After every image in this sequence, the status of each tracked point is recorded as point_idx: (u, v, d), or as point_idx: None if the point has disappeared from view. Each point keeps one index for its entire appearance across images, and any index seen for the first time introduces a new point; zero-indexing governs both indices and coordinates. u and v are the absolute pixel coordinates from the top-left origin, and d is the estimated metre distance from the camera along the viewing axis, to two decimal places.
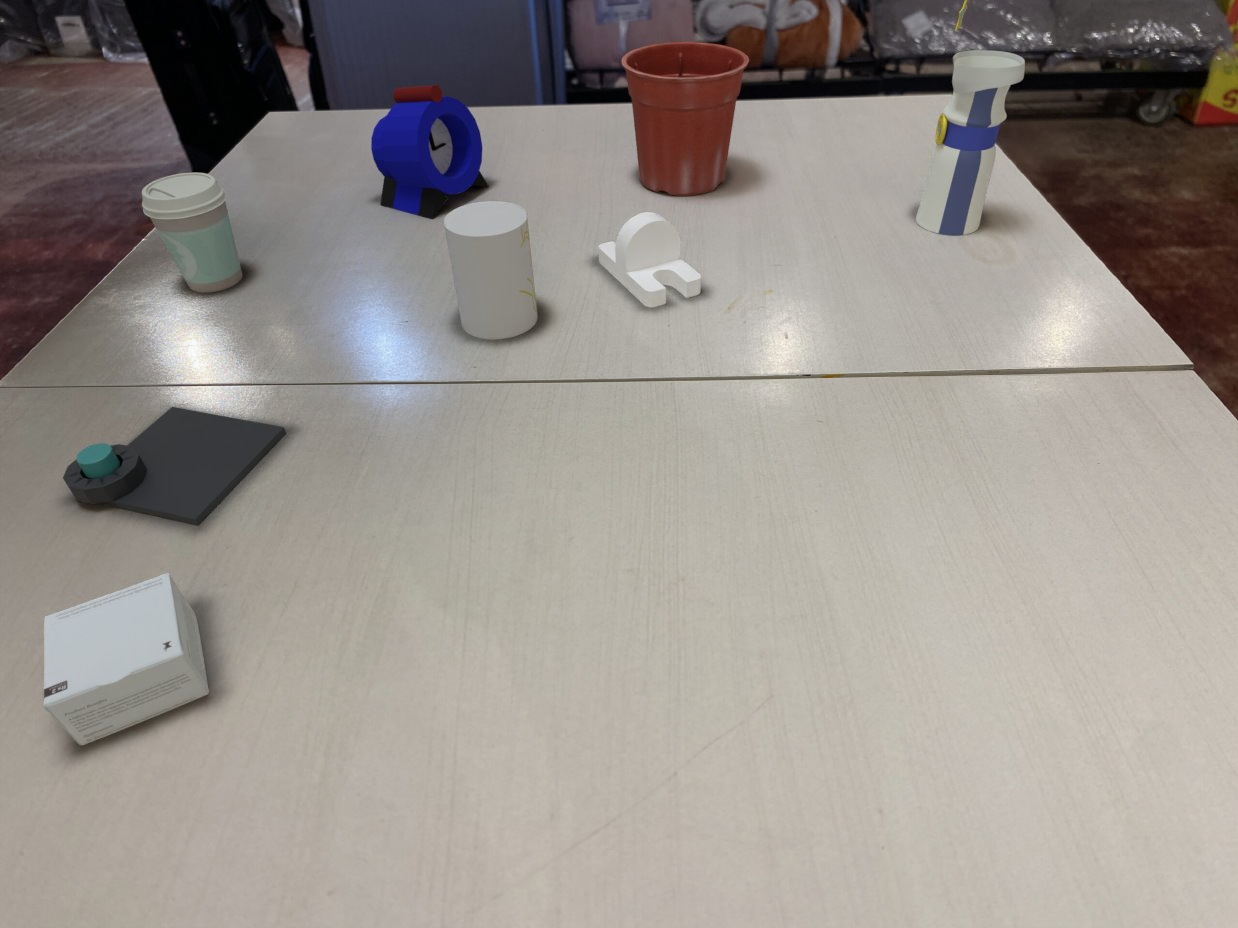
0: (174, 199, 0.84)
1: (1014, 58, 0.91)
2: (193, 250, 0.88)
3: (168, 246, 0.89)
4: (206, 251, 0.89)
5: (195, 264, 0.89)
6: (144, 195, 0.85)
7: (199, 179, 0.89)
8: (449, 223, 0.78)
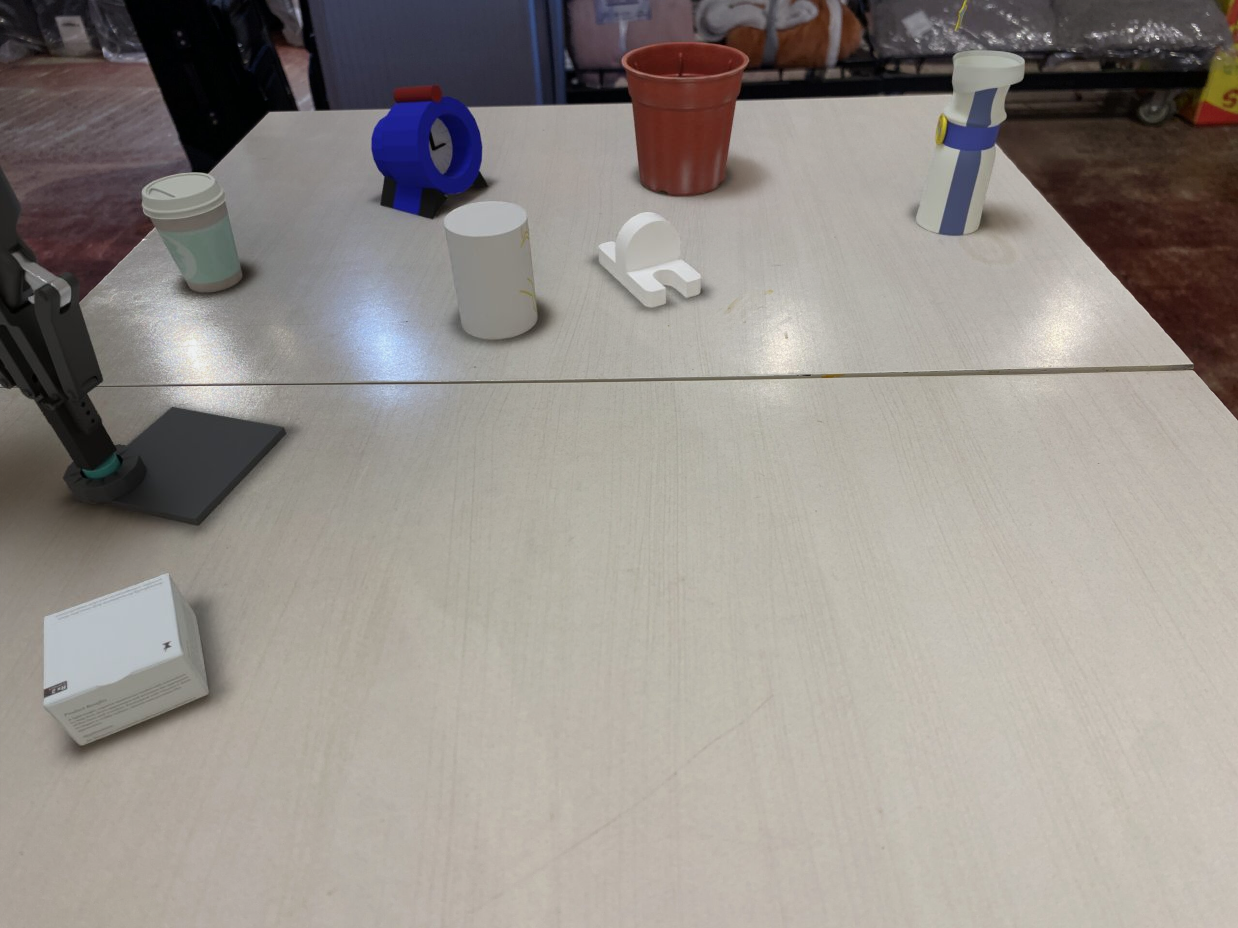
0: (174, 199, 0.84)
1: (1014, 58, 0.91)
2: (193, 250, 0.88)
3: (168, 246, 0.89)
4: (206, 251, 0.89)
5: (195, 264, 0.89)
6: (144, 195, 0.85)
7: (199, 179, 0.89)
8: (449, 223, 0.78)
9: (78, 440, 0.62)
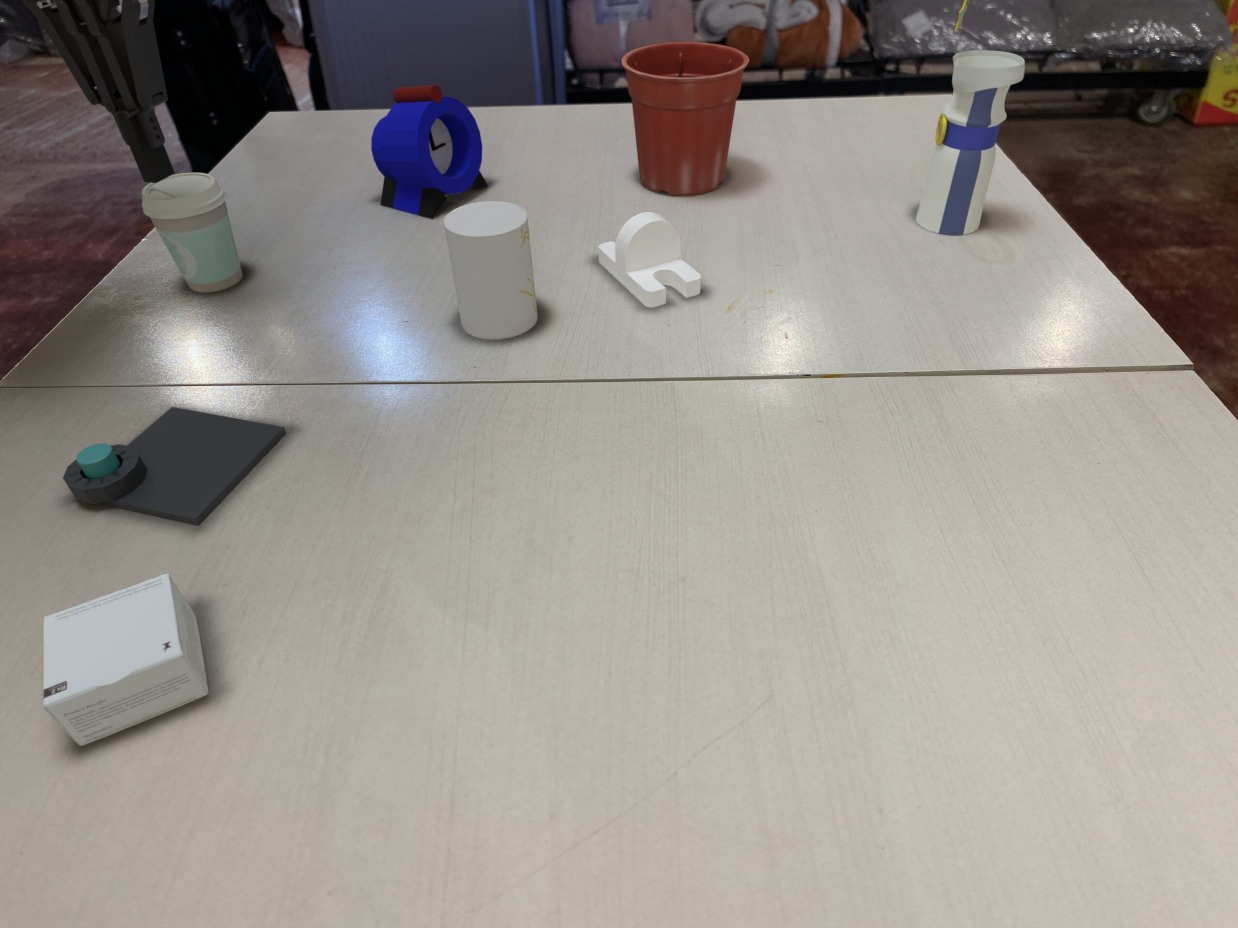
0: (174, 199, 0.84)
1: (1014, 58, 0.91)
2: (193, 250, 0.88)
3: (168, 246, 0.89)
4: (206, 251, 0.89)
5: (195, 264, 0.89)
6: (144, 195, 0.85)
7: (199, 179, 0.89)
8: (449, 222, 0.78)
9: (146, 153, 0.79)
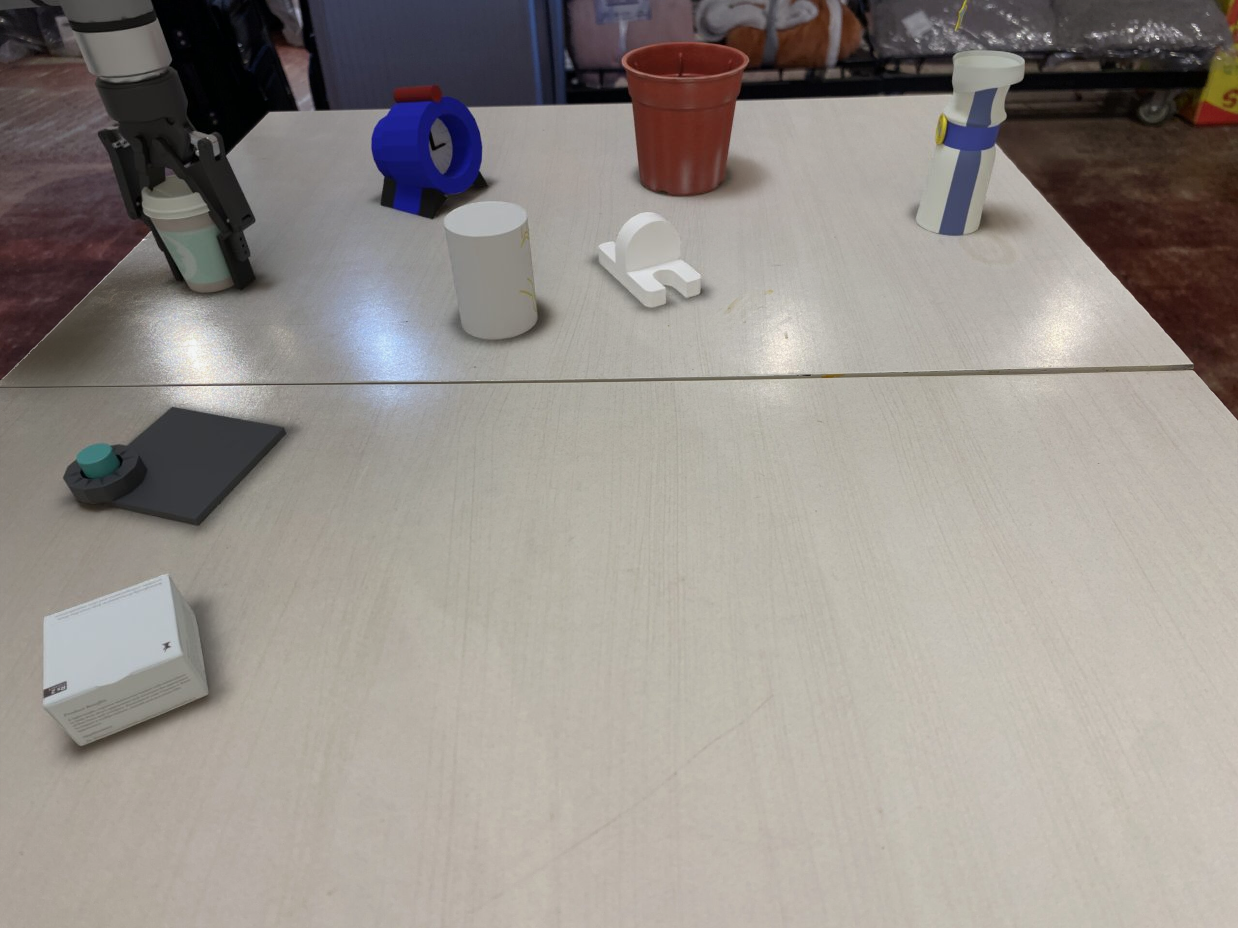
0: (174, 199, 0.84)
1: (1014, 58, 0.91)
2: (193, 250, 0.88)
3: (168, 246, 0.89)
4: (206, 251, 0.89)
5: (195, 264, 0.89)
6: (144, 195, 0.85)
7: None
8: (449, 223, 0.78)
9: (234, 266, 0.91)
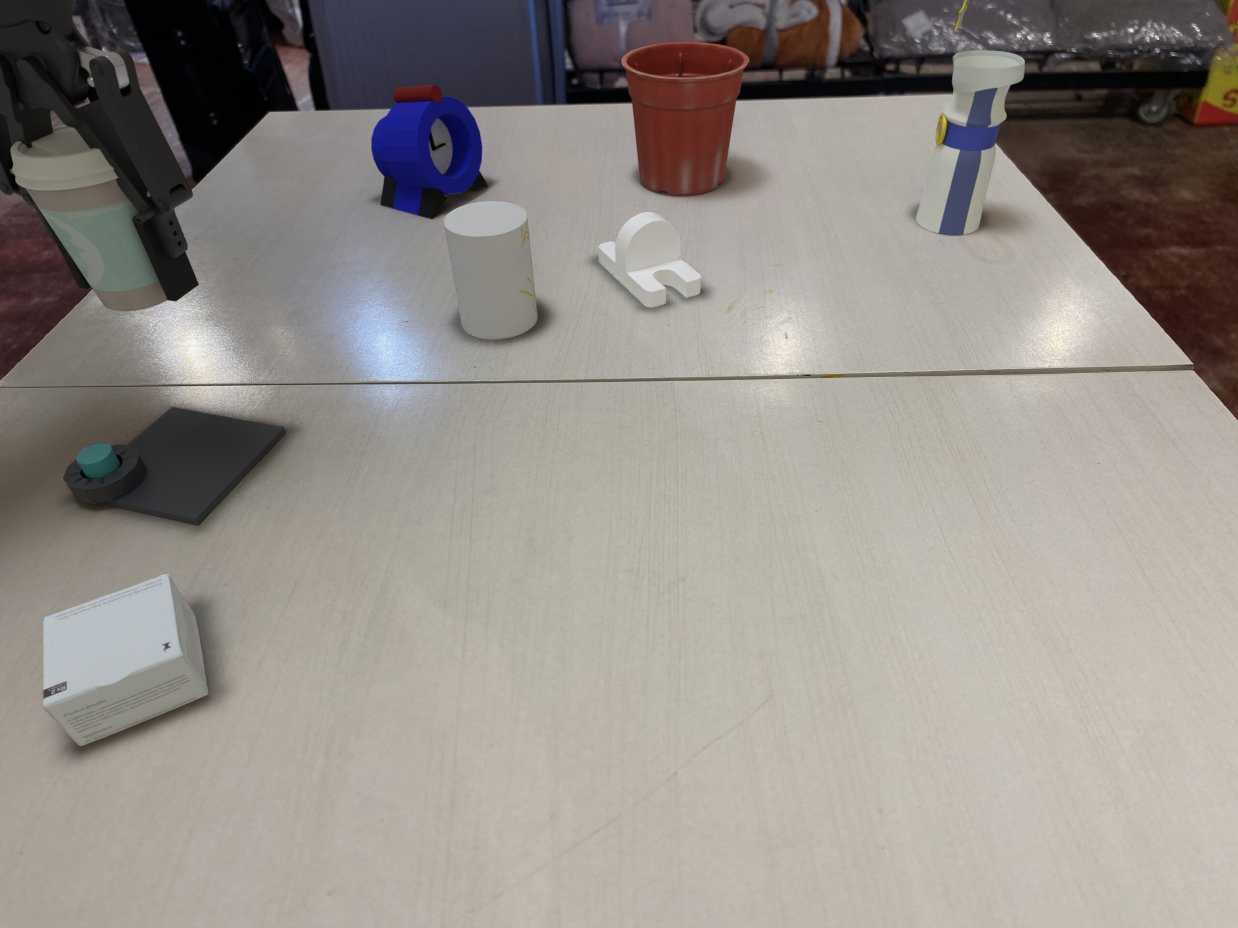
0: (59, 158, 0.53)
1: (1014, 58, 0.91)
2: (96, 240, 0.57)
3: (58, 234, 0.57)
4: (118, 241, 0.58)
5: (101, 261, 0.58)
6: (13, 153, 0.54)
7: None
8: (449, 223, 0.78)
9: (163, 265, 0.59)
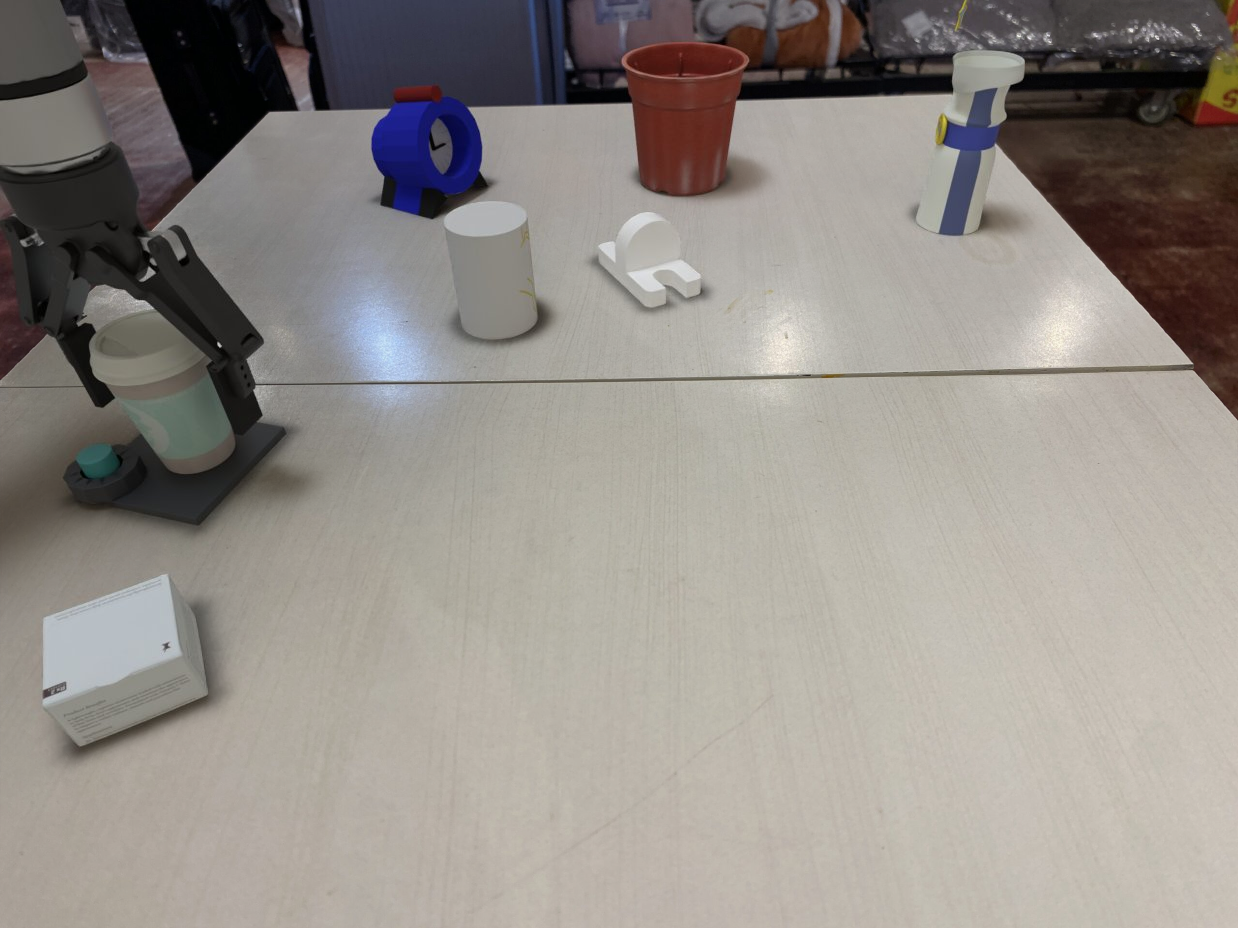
0: (134, 359, 0.59)
1: (1014, 58, 0.91)
2: (163, 420, 0.63)
3: (129, 414, 0.63)
4: (183, 420, 0.63)
5: (167, 436, 0.64)
6: (92, 351, 0.60)
7: None
8: (449, 222, 0.78)
9: (233, 404, 0.62)
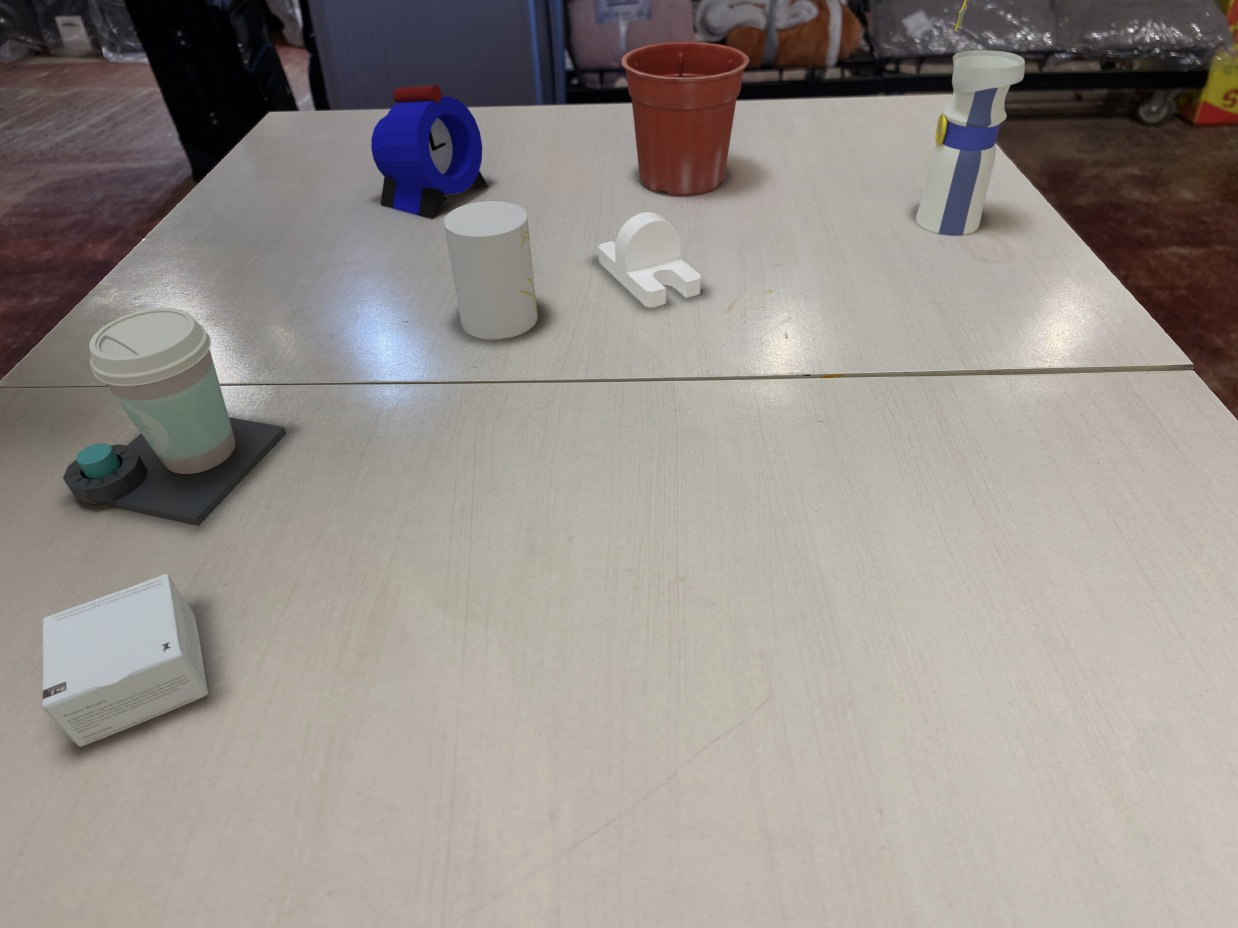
0: (134, 359, 0.59)
1: (1014, 58, 0.91)
2: (163, 420, 0.63)
3: (129, 414, 0.63)
4: (183, 420, 0.63)
5: (167, 436, 0.64)
6: (92, 351, 0.60)
7: (172, 320, 0.63)
8: (449, 223, 0.78)
9: None
